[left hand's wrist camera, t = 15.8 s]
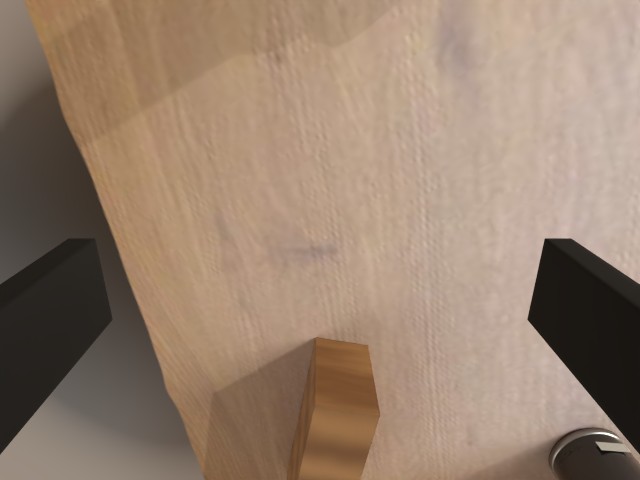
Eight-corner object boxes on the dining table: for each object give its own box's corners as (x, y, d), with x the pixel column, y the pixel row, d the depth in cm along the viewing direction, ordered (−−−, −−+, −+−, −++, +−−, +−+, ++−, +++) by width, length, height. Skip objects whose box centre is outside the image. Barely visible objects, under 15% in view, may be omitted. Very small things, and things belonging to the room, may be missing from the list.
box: (315, 337, 48) (314, 405, 39) (368, 345, 49) (380, 414, 39) (287, 469, 56) (280, 553, 46) (333, 475, 57) (335, 560, 47)
